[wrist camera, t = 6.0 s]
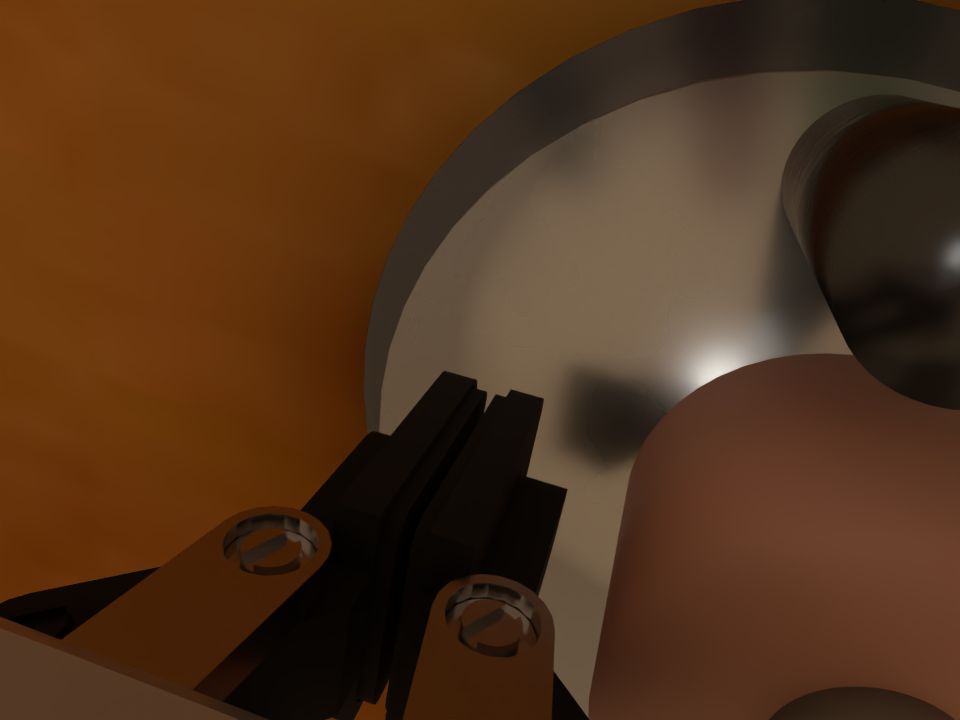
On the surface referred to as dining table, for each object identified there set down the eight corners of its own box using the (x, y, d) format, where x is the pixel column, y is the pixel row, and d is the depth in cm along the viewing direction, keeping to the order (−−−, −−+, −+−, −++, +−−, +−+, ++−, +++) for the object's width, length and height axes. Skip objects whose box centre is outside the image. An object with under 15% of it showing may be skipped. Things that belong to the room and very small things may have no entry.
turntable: (1438, 175, 9) (2463, 348, 4) (971, 824, 15) (1120, 1264, 9) (454, -2, 12) (238, -48, 6) (372, 612, 17) (219, 866, 12)
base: (1482, 100, 10) (1575, 106, 9) (977, 806, 16) (997, 860, 15) (435, -70, 13) (410, -82, 12) (356, 589, 19) (335, 621, 18)
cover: (1115, 416, 10) (1474, 737, 5) (933, 715, 13) (1067, 1112, 8) (677, 310, 11) (655, 500, 6) (591, 605, 14) (531, 895, 9)
